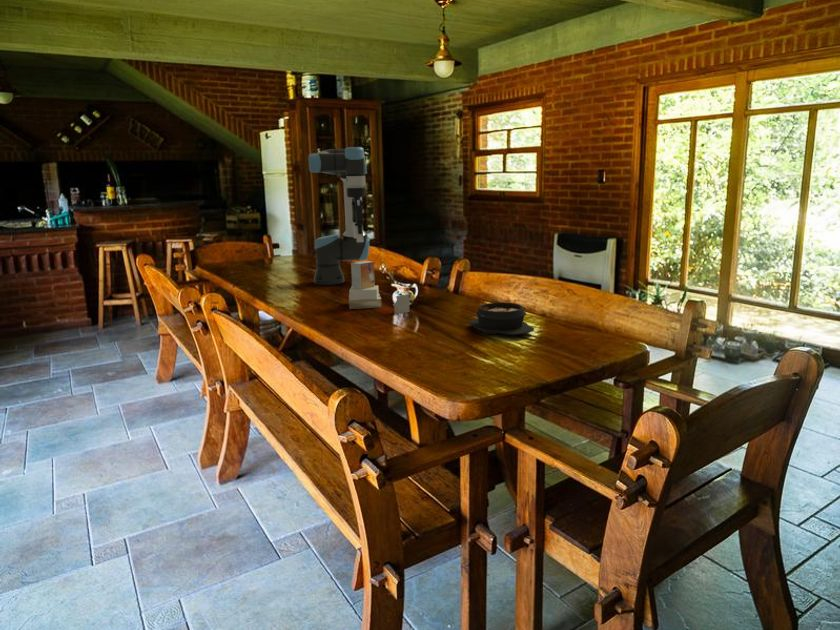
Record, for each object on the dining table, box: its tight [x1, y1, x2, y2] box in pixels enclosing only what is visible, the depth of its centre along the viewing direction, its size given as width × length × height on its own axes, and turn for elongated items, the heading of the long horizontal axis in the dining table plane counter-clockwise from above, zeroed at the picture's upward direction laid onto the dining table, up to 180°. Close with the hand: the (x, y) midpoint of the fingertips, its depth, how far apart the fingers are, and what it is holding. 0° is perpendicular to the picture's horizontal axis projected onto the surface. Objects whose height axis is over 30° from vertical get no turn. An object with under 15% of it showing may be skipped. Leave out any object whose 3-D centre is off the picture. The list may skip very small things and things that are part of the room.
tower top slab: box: [348, 284, 380, 300], centre depth 247 cm, size 9×11×4 cm
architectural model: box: [392, 294, 412, 315], centre depth 235 cm, size 3×7×7 cm, turn 123°
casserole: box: [468, 302, 535, 336], centre depth 204 cm, size 25×19×8 cm
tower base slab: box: [348, 293, 382, 310], centre depth 248 cm, size 11×13×4 cm
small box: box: [350, 260, 376, 289], centre depth 246 cm, size 8×6×10 cm
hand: (358, 240), depth 245 cm, fingers open, 13 cm apart
